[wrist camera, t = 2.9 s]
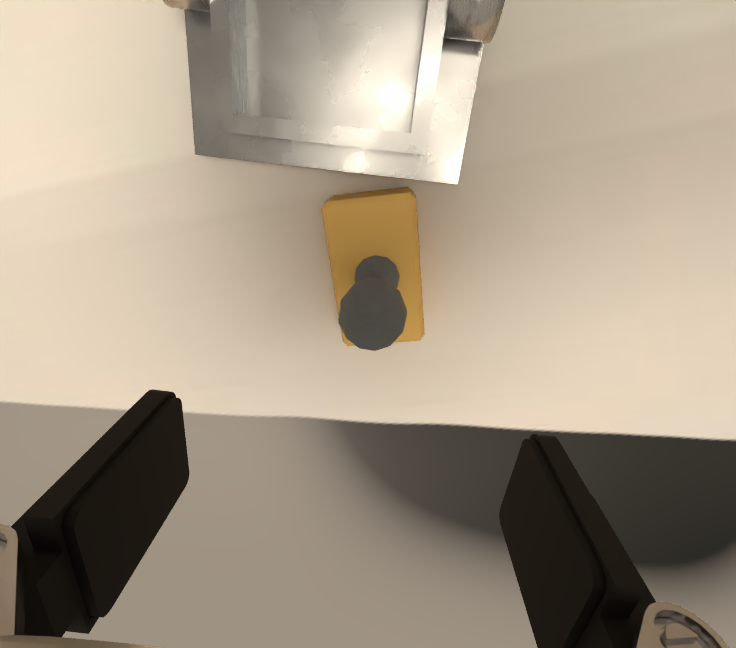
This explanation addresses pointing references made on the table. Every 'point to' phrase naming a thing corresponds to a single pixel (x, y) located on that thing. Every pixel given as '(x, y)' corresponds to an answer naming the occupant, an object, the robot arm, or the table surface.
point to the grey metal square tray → (337, 81)
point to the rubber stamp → (375, 266)
